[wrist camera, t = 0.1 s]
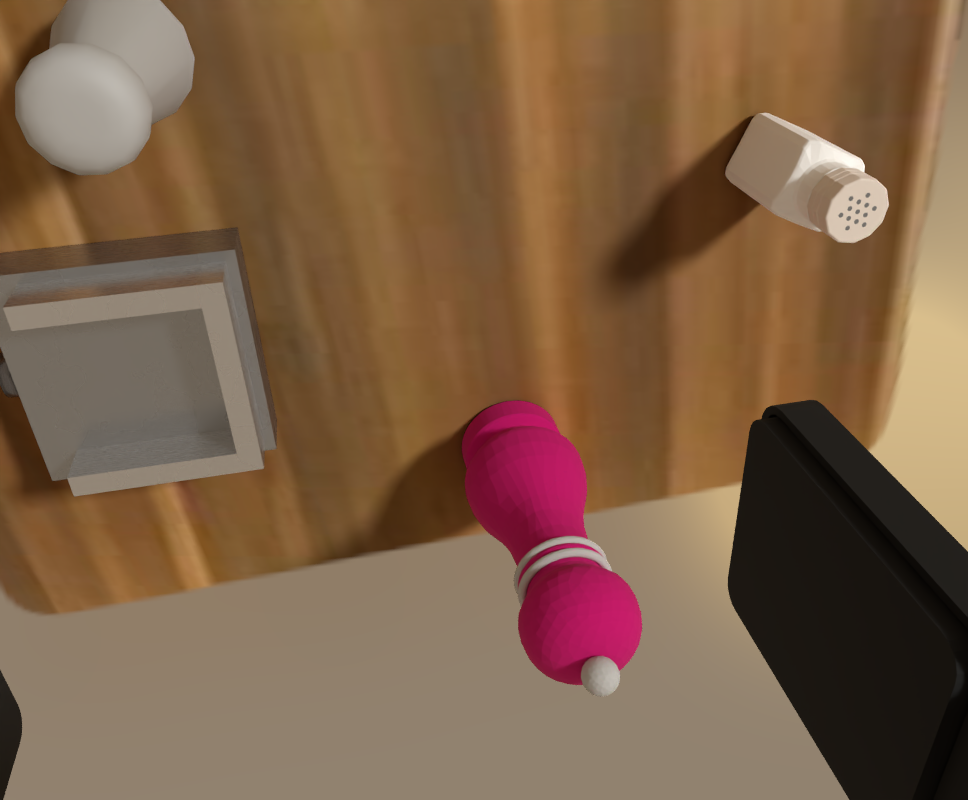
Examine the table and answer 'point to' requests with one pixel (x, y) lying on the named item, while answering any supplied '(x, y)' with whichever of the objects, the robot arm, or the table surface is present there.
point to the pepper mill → (550, 546)
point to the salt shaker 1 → (103, 83)
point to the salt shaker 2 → (807, 180)
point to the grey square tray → (137, 359)
